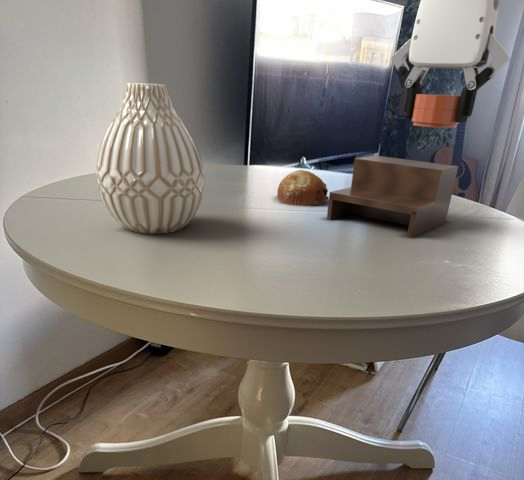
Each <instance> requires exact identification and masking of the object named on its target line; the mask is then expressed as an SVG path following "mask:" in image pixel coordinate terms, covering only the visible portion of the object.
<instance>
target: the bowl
mask: <svg viewBox="0 0 524 480" xmlns="http://www.w3.org/2000/svg"><path fill="white" fill-rule="evenodd" d="M460 96H461V95H446V94H445V95H444V94H443V95H442V94H425V93H424V94H423V93H422V94H416V98H415V104H414V109H413V115H412V119H411V122H412V126H414V127H422V128H437V129H438V128H439V129H456V128H457V125H460V123H457V121H455V120H456V115H457V110H458V105H459V101H460Z"/></svg>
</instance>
